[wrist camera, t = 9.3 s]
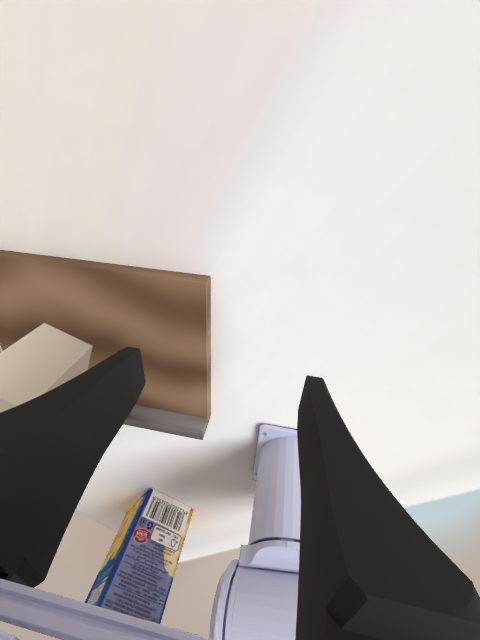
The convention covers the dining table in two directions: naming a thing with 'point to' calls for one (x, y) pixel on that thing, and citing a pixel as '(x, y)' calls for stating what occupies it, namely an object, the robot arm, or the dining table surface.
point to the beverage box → (143, 558)
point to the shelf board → (122, 327)
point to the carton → (40, 364)
